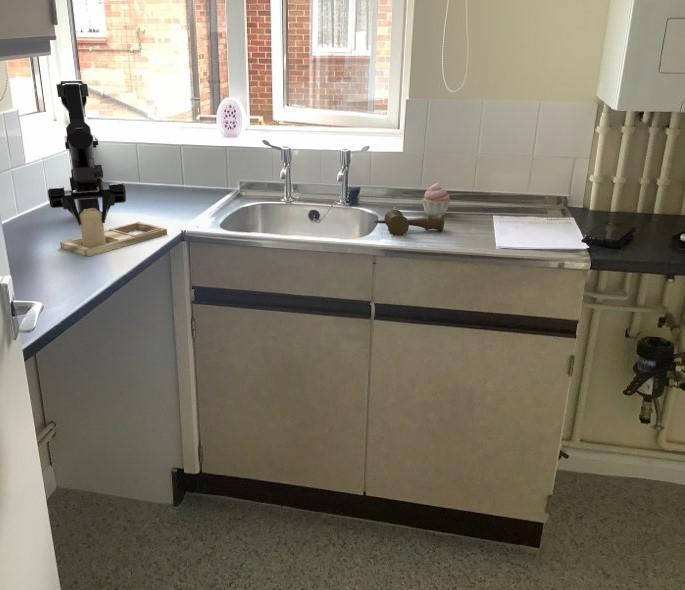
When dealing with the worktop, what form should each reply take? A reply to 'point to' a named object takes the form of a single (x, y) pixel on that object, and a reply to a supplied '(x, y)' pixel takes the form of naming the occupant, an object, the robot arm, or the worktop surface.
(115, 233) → the rail frame
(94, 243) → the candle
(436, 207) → the cupcake
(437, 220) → the kendama
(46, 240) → the worktop surface
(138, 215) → the worktop surface
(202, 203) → the worktop surface
